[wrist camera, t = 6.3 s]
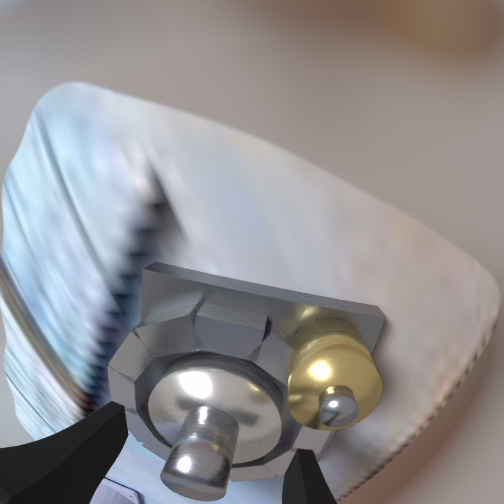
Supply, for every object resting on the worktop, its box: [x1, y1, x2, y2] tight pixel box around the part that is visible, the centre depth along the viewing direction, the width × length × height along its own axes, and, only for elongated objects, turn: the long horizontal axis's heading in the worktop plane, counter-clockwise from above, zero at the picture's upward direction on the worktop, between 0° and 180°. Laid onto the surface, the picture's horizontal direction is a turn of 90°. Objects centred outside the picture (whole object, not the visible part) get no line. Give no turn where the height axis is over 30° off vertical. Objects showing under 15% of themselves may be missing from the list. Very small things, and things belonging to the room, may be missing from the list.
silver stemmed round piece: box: [148, 354, 282, 501], centre depth 10 cm, size 6×6×5 cm
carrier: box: [108, 262, 386, 482], centre depth 11 cm, size 11×11×5 cm
